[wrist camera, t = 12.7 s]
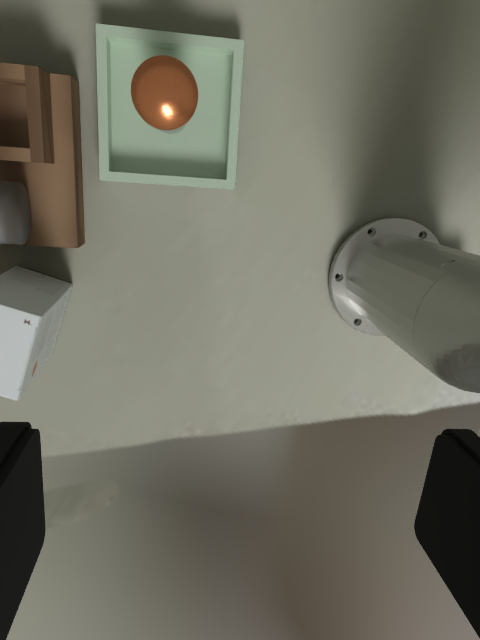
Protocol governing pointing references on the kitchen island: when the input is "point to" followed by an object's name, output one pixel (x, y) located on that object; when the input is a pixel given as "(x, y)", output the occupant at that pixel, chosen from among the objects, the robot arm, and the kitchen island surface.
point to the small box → (28, 325)
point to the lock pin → (164, 93)
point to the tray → (150, 143)
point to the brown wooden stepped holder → (40, 158)
